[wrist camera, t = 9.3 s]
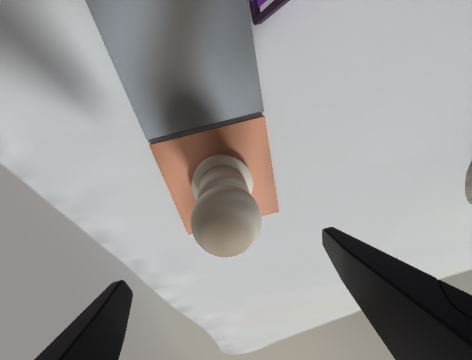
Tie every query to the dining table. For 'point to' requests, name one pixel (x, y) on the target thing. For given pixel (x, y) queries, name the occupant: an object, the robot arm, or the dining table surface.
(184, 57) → the game board
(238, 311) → the dining table surface
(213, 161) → the pawn
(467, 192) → the sand castle
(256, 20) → the game card
